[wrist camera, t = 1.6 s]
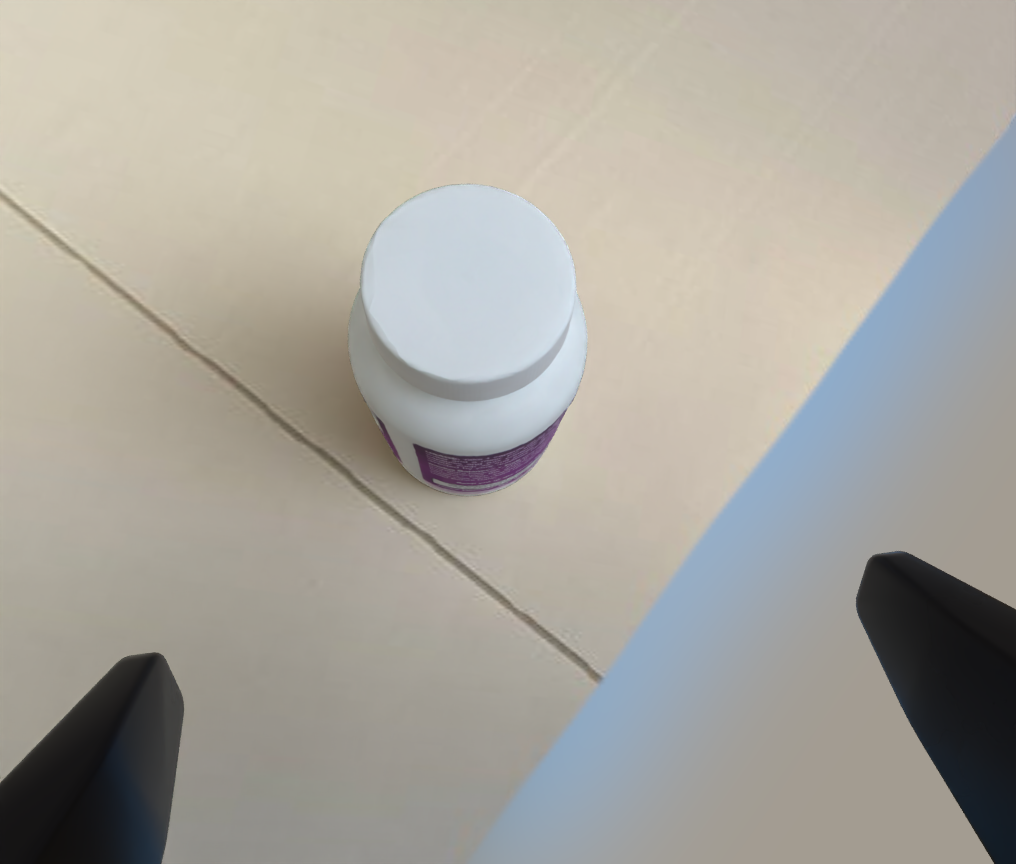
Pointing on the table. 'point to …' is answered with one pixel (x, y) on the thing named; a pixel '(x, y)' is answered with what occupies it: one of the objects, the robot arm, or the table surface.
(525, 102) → the table surface
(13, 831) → the robot arm
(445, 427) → the pill bottle
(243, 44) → the table surface
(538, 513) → the table surface
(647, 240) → the table surface
